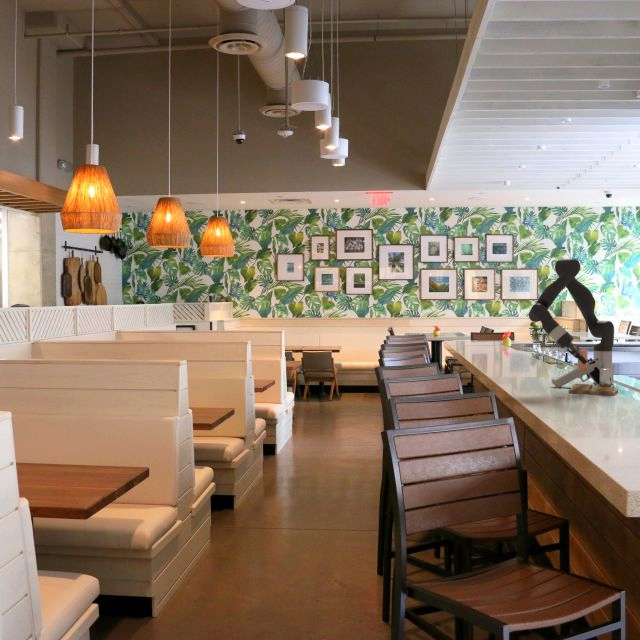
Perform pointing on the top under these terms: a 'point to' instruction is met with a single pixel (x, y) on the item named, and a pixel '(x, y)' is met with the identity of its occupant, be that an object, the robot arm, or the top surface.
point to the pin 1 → (580, 365)
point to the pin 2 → (604, 377)
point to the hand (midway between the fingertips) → (586, 362)
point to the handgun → (591, 372)
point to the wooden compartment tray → (593, 389)
